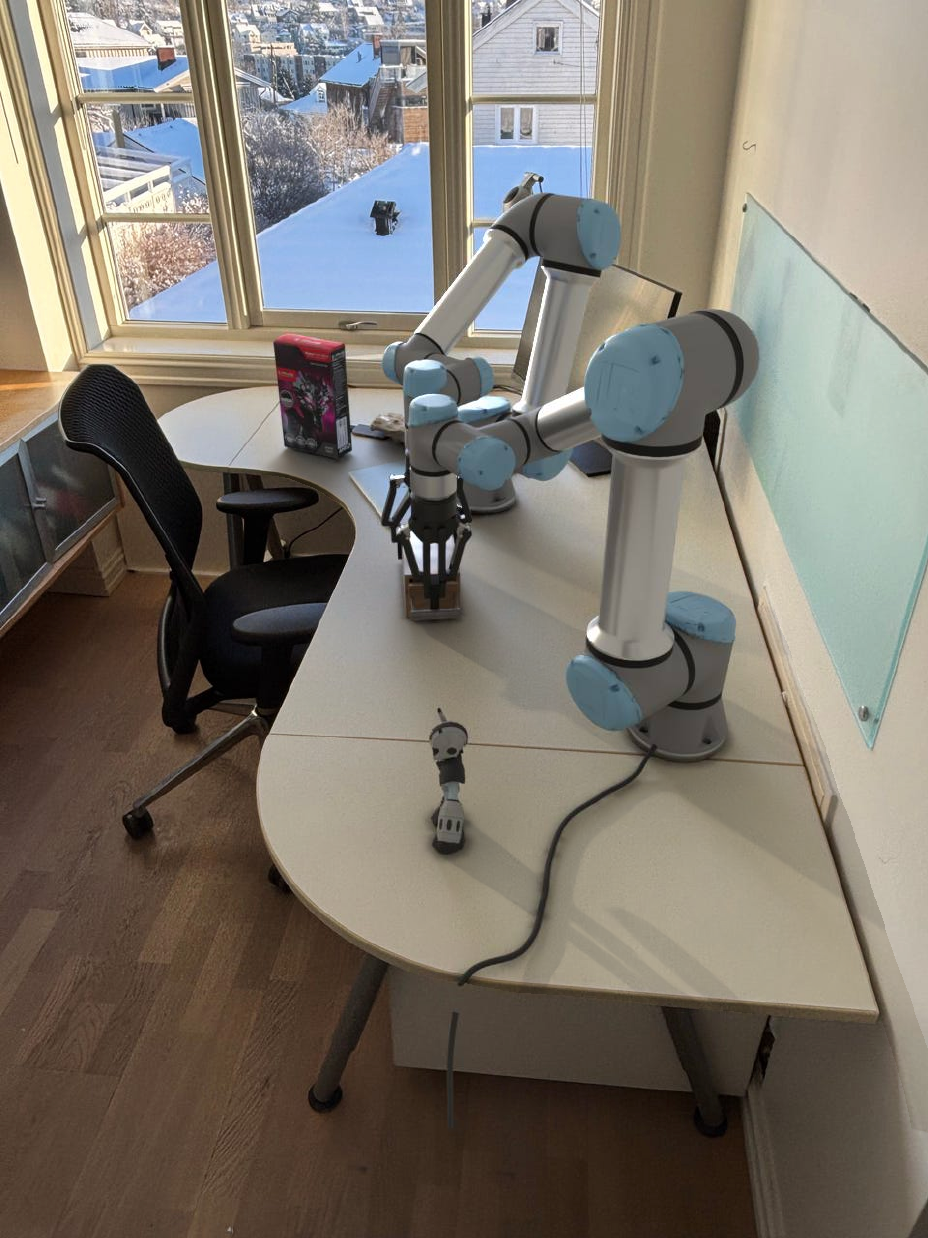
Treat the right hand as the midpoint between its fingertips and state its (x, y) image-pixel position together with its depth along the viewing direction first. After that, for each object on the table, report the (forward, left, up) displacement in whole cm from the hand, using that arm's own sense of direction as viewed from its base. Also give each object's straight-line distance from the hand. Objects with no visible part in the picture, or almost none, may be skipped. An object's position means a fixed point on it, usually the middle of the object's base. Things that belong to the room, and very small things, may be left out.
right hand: (434, 612), depth 162 cm
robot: (-45, -16, -4) cm, 48 cm away
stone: (+80, +31, -4) cm, 86 cm away
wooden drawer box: (+14, +5, -4) cm, 15 cm away
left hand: (+19, +7, 0) cm, 21 cm away
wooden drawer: (+8, +3, -3) cm, 9 cm away
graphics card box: (+69, +51, -4) cm, 86 cm away
